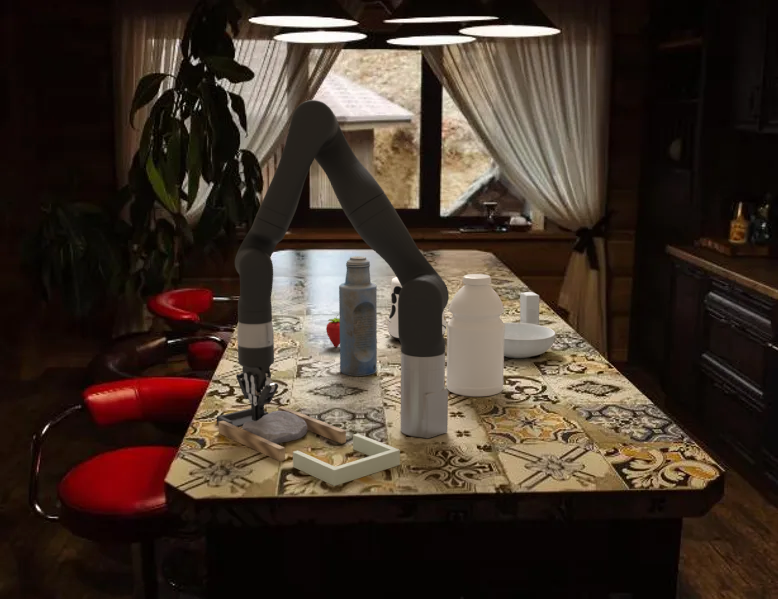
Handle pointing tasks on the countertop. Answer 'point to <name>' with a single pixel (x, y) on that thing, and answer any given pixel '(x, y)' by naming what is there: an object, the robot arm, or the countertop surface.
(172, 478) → the countertop surface
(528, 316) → the skincare box
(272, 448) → the channel
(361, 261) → the bottle
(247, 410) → the dark gray shallow tray
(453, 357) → the bottle
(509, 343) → the serving bowl
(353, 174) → the robot arm
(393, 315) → the milk container
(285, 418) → the stone block
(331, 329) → the strawberry
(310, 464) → the u-shaped green frame
